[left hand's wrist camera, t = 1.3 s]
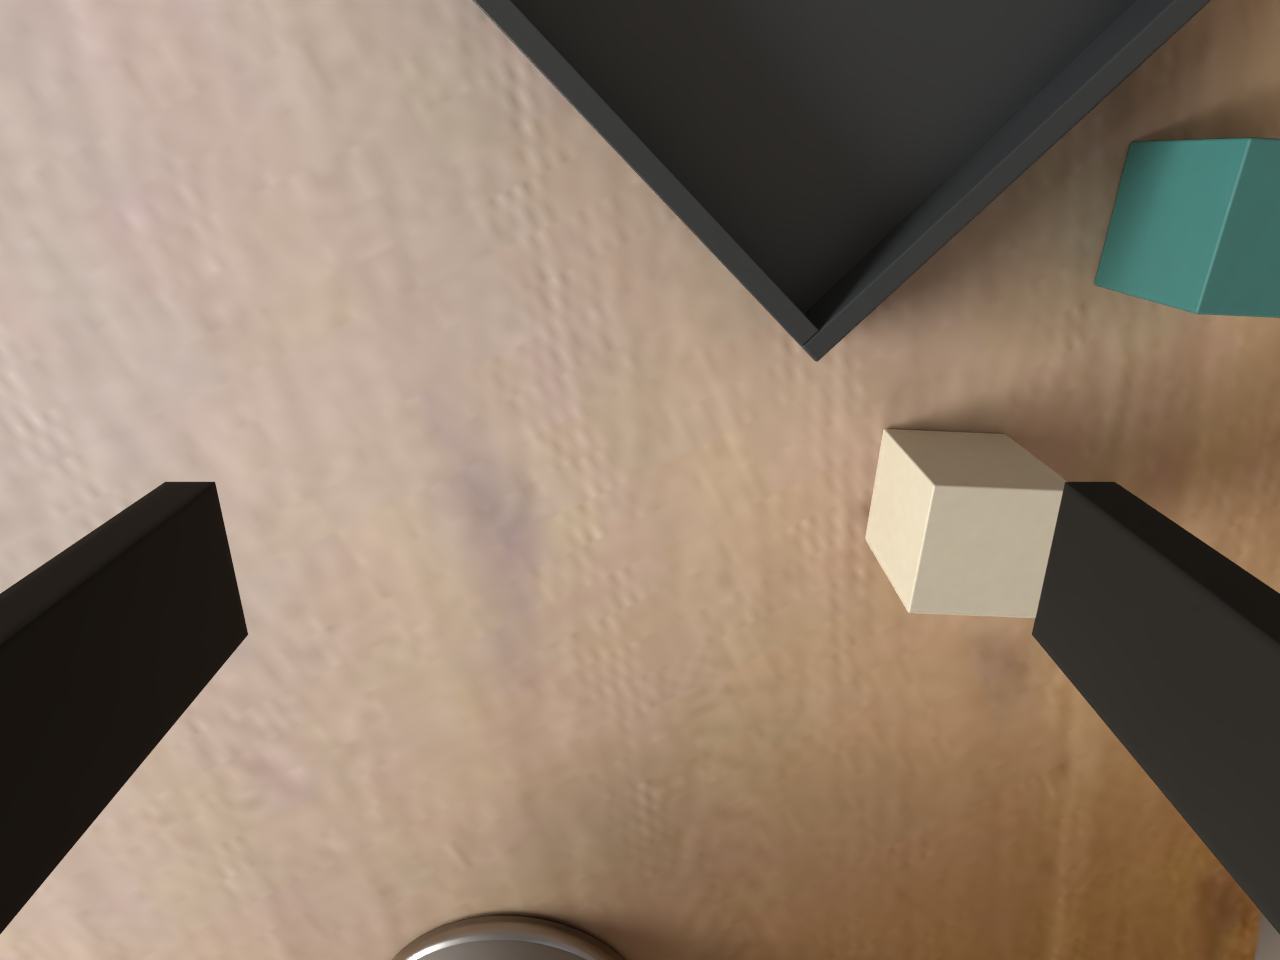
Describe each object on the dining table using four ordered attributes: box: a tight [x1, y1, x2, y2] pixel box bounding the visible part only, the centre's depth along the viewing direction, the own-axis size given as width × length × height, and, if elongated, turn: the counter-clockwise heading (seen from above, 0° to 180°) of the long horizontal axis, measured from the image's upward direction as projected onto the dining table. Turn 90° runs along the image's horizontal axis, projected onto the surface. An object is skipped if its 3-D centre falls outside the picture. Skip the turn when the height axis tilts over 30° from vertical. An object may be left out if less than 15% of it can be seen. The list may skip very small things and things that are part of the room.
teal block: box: [1094, 138, 1280, 318], centre depth 26 cm, size 5×5×6 cm
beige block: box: [865, 429, 1068, 618], centre depth 30 cm, size 5×5×6 cm
